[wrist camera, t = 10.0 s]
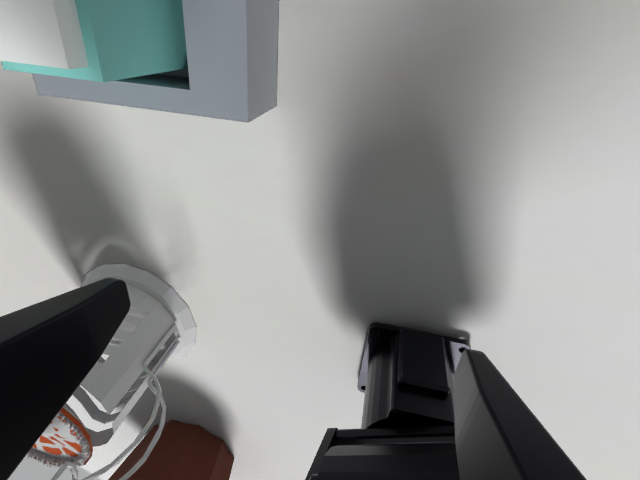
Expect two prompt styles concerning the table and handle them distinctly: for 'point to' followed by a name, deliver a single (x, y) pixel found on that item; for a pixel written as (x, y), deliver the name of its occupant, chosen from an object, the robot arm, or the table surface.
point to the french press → (121, 372)
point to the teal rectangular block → (92, 38)
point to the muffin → (179, 455)
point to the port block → (200, 67)
